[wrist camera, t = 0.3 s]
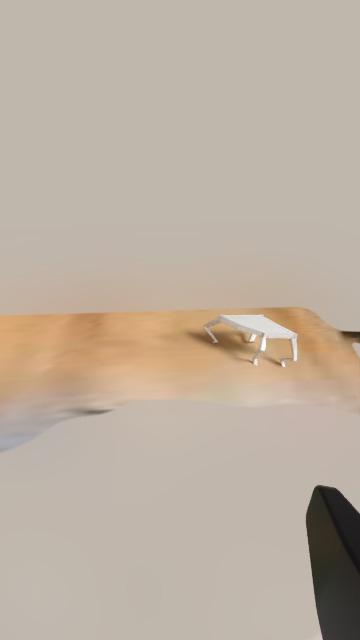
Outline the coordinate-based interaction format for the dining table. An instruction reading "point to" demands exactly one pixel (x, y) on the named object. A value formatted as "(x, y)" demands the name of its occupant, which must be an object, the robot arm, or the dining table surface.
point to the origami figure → (257, 331)
